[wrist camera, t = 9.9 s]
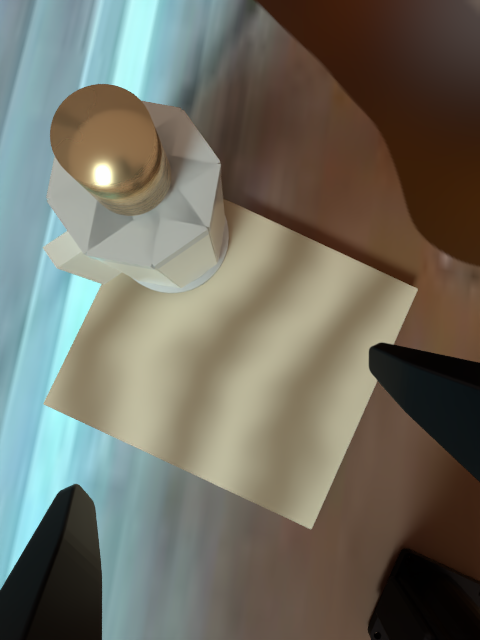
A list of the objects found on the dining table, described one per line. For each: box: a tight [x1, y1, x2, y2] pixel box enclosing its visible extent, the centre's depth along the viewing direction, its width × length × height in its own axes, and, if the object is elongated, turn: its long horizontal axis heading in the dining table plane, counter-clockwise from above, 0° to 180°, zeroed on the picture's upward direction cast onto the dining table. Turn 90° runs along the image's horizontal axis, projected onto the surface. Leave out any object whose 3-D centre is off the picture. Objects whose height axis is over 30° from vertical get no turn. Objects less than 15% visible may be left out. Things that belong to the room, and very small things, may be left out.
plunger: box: [50, 84, 171, 216], centre depth 14 cm, size 5×5×9 cm
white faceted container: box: [43, 101, 229, 293], centre depth 17 cm, size 9×8×8 cm
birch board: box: [44, 198, 418, 529], centre depth 21 cm, size 20×18×1 cm
